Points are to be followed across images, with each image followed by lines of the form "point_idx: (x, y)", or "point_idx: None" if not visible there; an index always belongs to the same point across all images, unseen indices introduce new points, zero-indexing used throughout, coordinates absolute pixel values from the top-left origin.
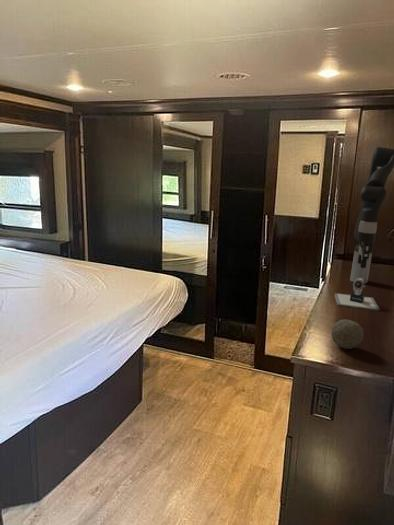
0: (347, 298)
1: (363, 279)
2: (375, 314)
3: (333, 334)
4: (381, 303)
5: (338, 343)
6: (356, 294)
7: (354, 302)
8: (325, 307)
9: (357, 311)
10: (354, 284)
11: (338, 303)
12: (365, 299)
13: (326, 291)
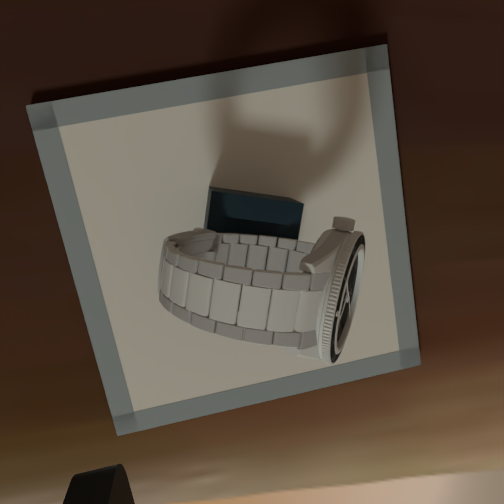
0: None
1: (216, 263)
2: (487, 85)
3: None
4: (135, 22)
5: None
6: (298, 269)
7: None
8: (499, 423)
9: (481, 218)
10: (337, 338)
11: (401, 364)
12: (144, 172)
13: None
